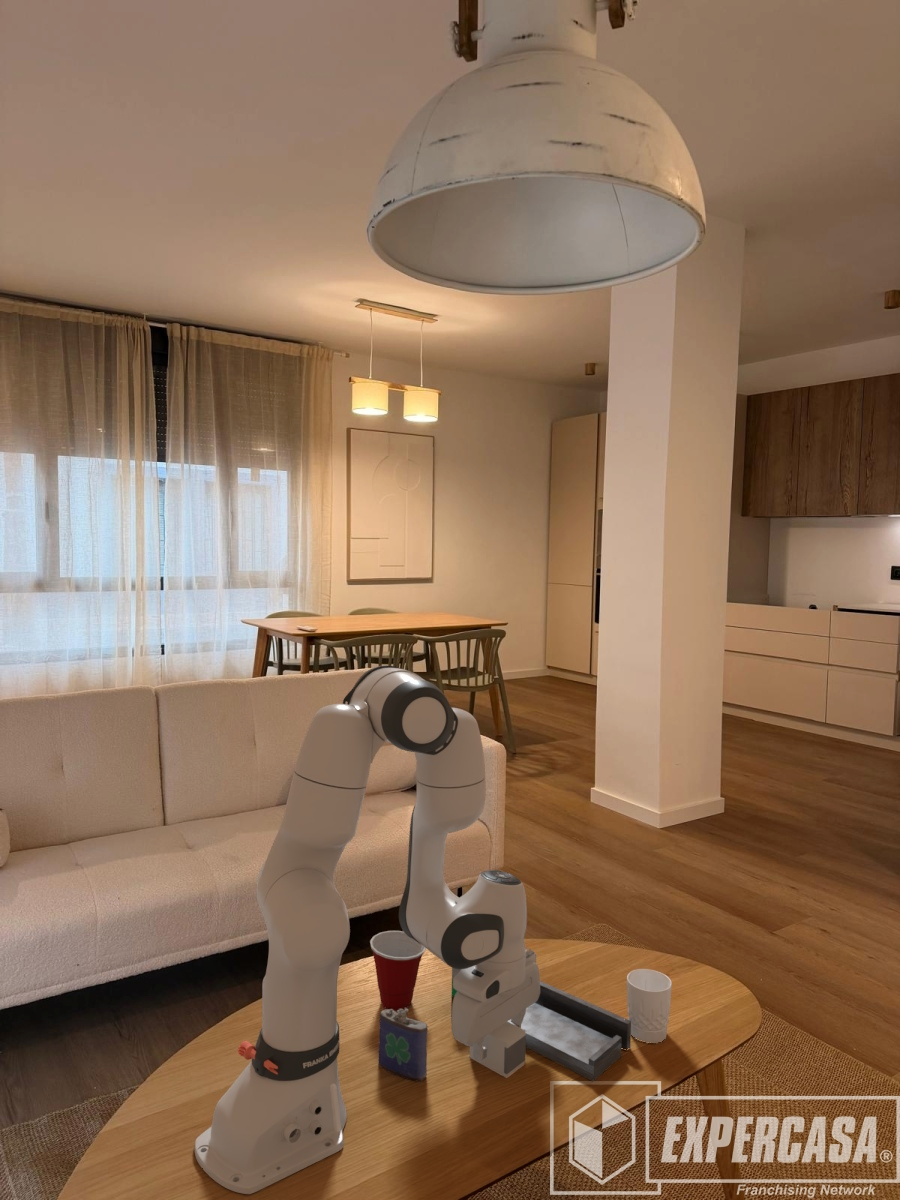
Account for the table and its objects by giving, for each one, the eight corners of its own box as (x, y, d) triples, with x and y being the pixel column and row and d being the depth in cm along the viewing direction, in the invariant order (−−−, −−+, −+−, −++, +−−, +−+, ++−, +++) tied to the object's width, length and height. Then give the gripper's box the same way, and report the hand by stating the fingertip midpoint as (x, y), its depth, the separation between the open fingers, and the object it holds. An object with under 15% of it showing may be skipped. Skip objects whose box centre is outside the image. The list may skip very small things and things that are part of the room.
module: (506, 1079, 135) (507, 1043, 134) (469, 1058, 140) (470, 1024, 140) (525, 1064, 139) (525, 1030, 138) (488, 1045, 144) (488, 1011, 144)
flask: (429, 1075, 135) (430, 1013, 134) (419, 1085, 133) (420, 1021, 132) (383, 1057, 140) (384, 996, 139) (373, 1066, 137) (374, 1004, 137)
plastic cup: (424, 1019, 151) (425, 956, 150) (366, 1018, 151) (367, 955, 150) (426, 988, 162) (427, 929, 161) (372, 987, 162) (372, 928, 161)
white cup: (668, 1050, 143) (670, 995, 143) (622, 1041, 146) (624, 986, 145) (671, 1025, 151) (673, 973, 150) (627, 1017, 153) (629, 965, 153)
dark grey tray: (593, 1081, 134) (594, 1052, 134) (488, 1028, 149) (489, 1001, 149) (630, 1048, 143) (631, 1021, 143) (528, 1001, 158) (529, 976, 158)
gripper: (521, 939, 148) (519, 1013, 149) (445, 982, 133) (444, 1064, 134) (549, 951, 144) (547, 1027, 145) (475, 997, 129) (474, 1081, 130)
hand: (497, 1045), depth 139 cm, fingers open, 8 cm apart
